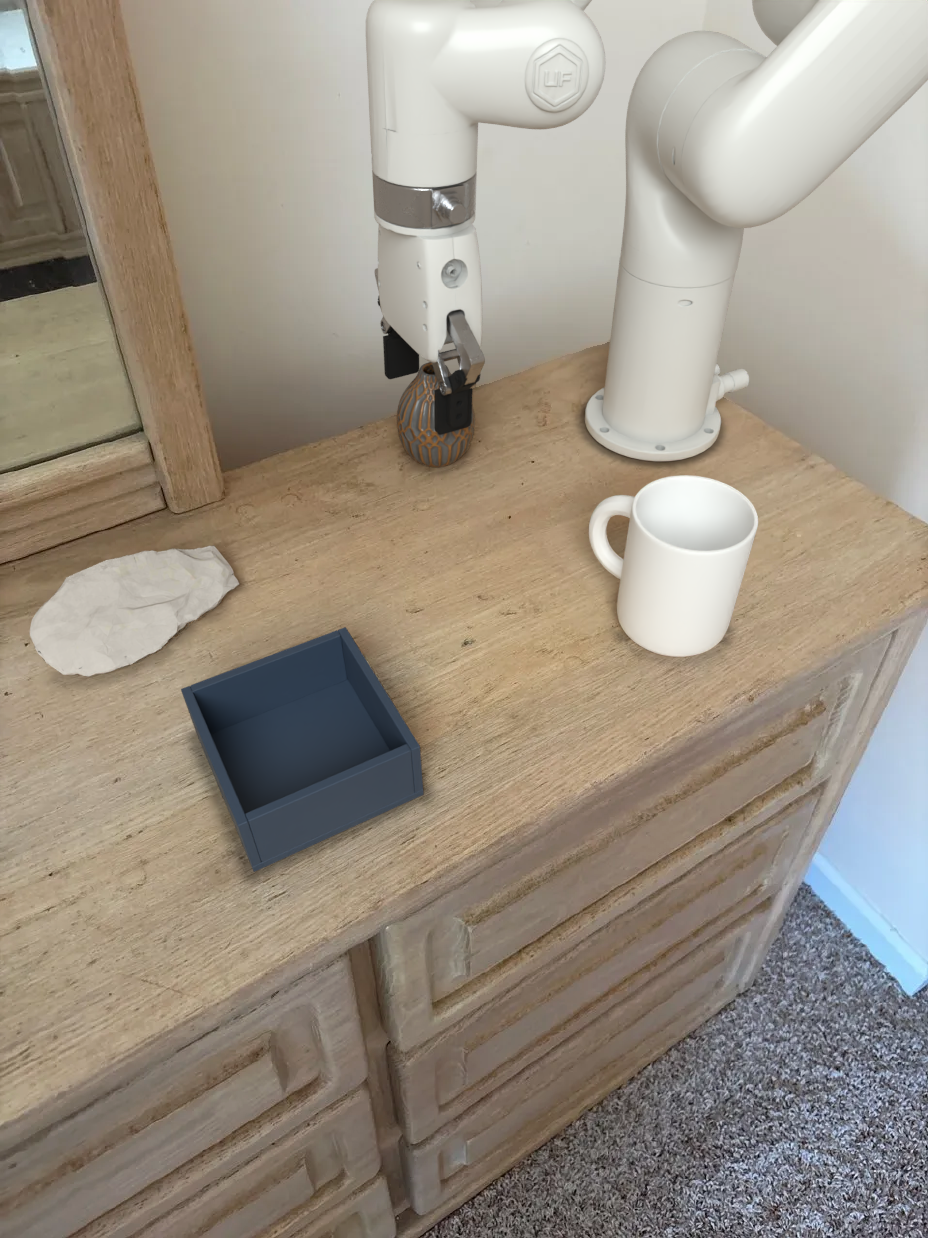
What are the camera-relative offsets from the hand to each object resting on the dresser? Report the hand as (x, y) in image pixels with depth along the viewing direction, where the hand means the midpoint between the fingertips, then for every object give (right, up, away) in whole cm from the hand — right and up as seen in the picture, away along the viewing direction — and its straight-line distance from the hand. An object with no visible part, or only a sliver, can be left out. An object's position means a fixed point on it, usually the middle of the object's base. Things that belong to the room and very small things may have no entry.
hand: (426, 400), depth 78 cm
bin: (-7, -28, -20) cm, 35 cm away
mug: (+17, -18, -10) cm, 27 cm away
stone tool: (-21, -19, -10) cm, 30 cm away
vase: (+1, -4, +4) cm, 6 cm away
